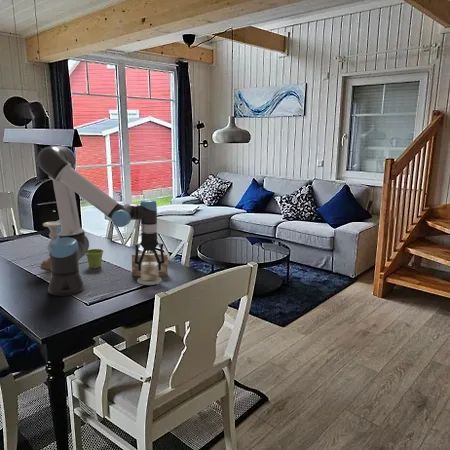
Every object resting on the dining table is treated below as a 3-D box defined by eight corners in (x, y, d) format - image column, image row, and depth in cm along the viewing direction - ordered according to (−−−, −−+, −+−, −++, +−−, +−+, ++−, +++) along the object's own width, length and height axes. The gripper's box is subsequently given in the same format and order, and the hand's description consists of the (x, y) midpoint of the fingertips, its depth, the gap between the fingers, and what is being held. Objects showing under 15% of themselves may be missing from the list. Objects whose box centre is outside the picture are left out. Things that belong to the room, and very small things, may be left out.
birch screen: (167, 272, 210) (167, 252, 207) (167, 275, 206) (167, 255, 204) (132, 273, 207) (132, 253, 205) (131, 276, 203) (131, 255, 201)
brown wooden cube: (157, 274, 201) (156, 261, 200) (156, 279, 194) (156, 265, 193) (143, 275, 200) (142, 261, 199) (142, 280, 193) (142, 266, 192)
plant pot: (101, 269, 211) (100, 254, 210) (83, 269, 211) (82, 253, 209) (106, 264, 221) (105, 249, 219) (89, 263, 220) (88, 248, 219)
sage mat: (152, 286, 190) (152, 285, 190) (132, 282, 195) (132, 281, 195) (166, 279, 201) (166, 278, 201) (146, 275, 205) (146, 274, 205)
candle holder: (58, 262, 221) (55, 220, 216) (71, 265, 216) (69, 222, 211) (40, 267, 212) (37, 223, 207) (53, 271, 207) (50, 226, 202)
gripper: (169, 229, 198) (169, 273, 202) (128, 230, 194) (129, 274, 199) (170, 233, 190) (170, 278, 195) (127, 233, 187) (128, 280, 192)
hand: (149, 276), depth 197 cm, fingers closed on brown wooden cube, 7 cm apart
